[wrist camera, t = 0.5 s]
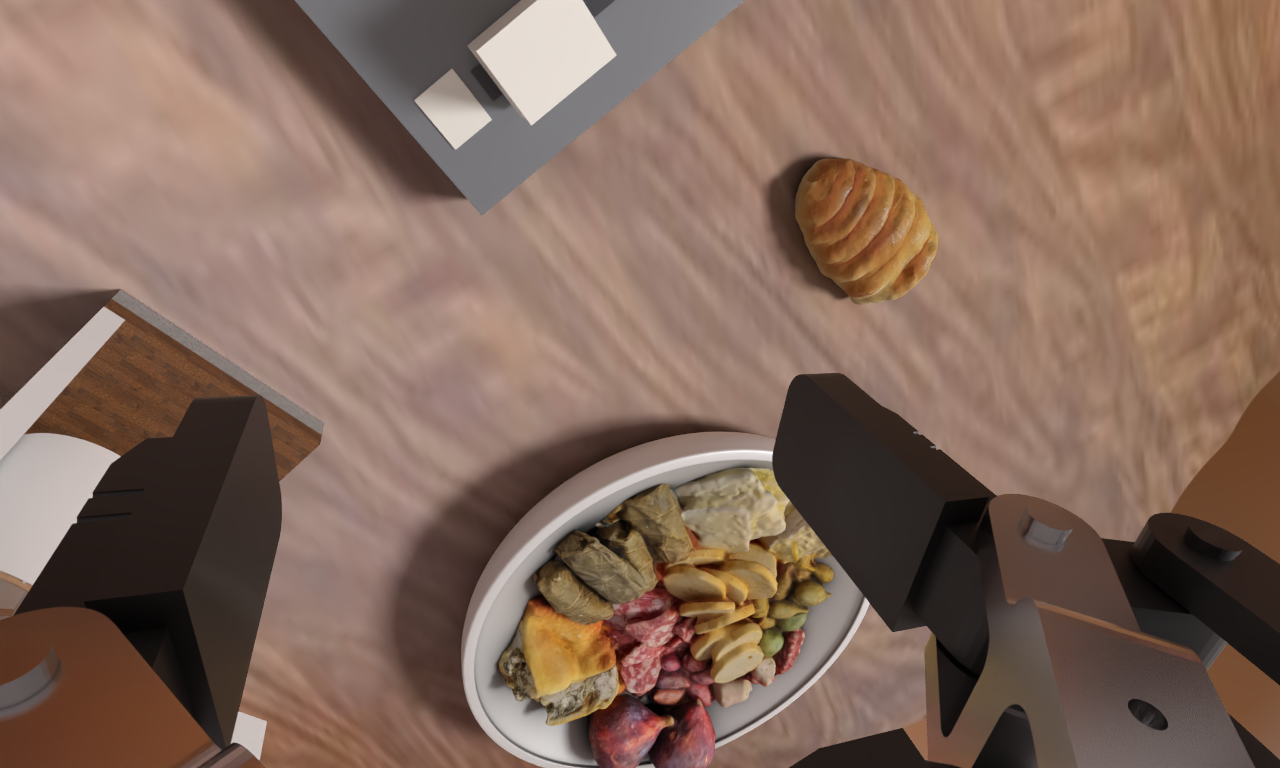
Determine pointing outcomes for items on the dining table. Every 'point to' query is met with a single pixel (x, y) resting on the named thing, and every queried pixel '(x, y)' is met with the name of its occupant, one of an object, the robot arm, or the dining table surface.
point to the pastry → (864, 229)
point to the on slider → (542, 53)
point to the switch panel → (467, 96)
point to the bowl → (654, 610)
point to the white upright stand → (113, 433)
